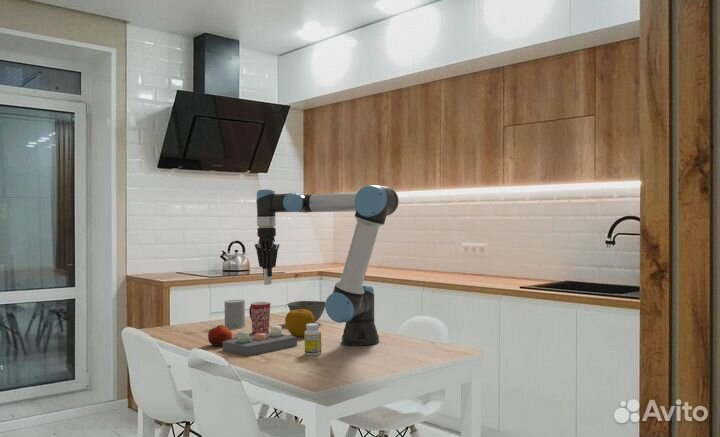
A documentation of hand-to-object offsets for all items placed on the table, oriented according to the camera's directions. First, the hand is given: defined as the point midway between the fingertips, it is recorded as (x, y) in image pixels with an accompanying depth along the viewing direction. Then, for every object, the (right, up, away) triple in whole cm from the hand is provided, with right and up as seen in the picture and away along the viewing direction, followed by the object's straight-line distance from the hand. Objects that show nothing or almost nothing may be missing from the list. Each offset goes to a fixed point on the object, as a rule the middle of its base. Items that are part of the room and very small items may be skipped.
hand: (267, 284), depth 249 cm
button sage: (-7, -21, -17) cm, 28 cm away
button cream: (+4, -20, -6) cm, 22 cm away
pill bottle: (+20, -24, -23) cm, 39 cm away
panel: (-1, -24, -11) cm, 26 cm away
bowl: (+12, -24, +44) cm, 52 cm away
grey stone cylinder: (-21, -24, +37) cm, 49 cm away
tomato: (-18, -24, -5) cm, 31 cm away
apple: (+12, -24, +13) cm, 30 cm away
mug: (-7, -24, +22) cm, 33 cm away
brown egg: (-1, -22, -11) cm, 25 cm away
